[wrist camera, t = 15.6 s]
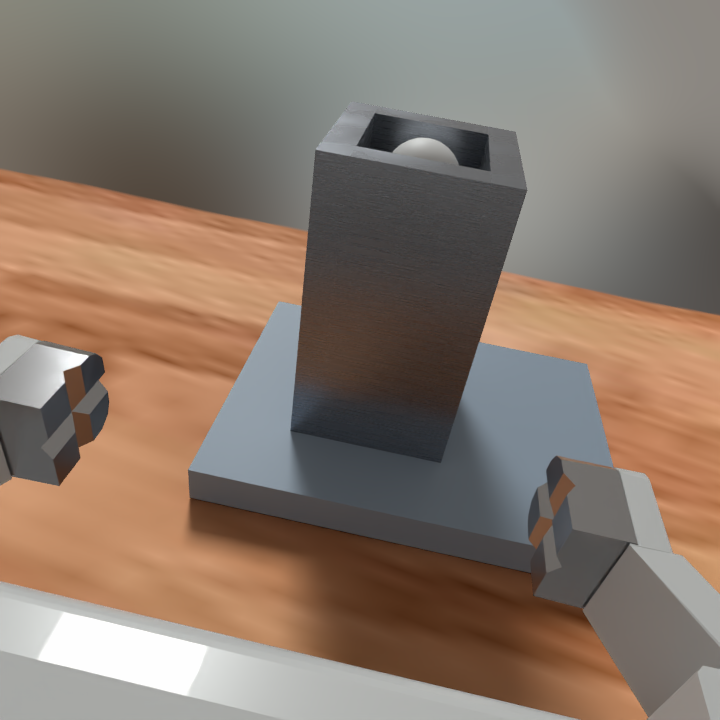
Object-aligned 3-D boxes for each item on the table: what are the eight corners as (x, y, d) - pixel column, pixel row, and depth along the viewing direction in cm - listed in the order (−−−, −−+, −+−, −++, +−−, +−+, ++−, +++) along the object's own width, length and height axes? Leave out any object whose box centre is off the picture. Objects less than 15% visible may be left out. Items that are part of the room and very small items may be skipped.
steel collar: (290, 431, 23) (315, 149, 17) (322, 345, 28) (351, 101, 21) (440, 462, 23) (527, 189, 16) (446, 371, 28) (515, 131, 21)
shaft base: (189, 497, 22) (170, 162, 14) (277, 325, 31) (293, 71, 24) (622, 593, 21) (838, 292, 14) (576, 386, 31) (689, 144, 23)
